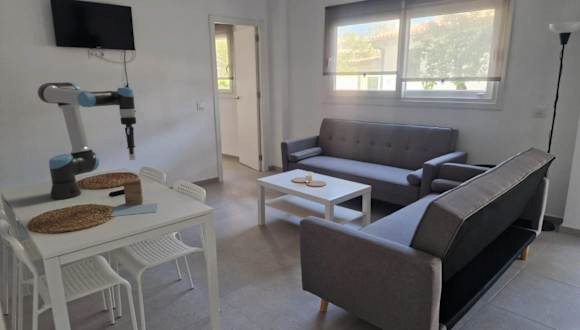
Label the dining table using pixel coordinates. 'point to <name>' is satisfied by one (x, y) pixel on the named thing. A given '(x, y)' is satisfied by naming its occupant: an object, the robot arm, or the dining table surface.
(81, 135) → the robot arm
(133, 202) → the walnut block
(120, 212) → the mat
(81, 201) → the dining table surface
